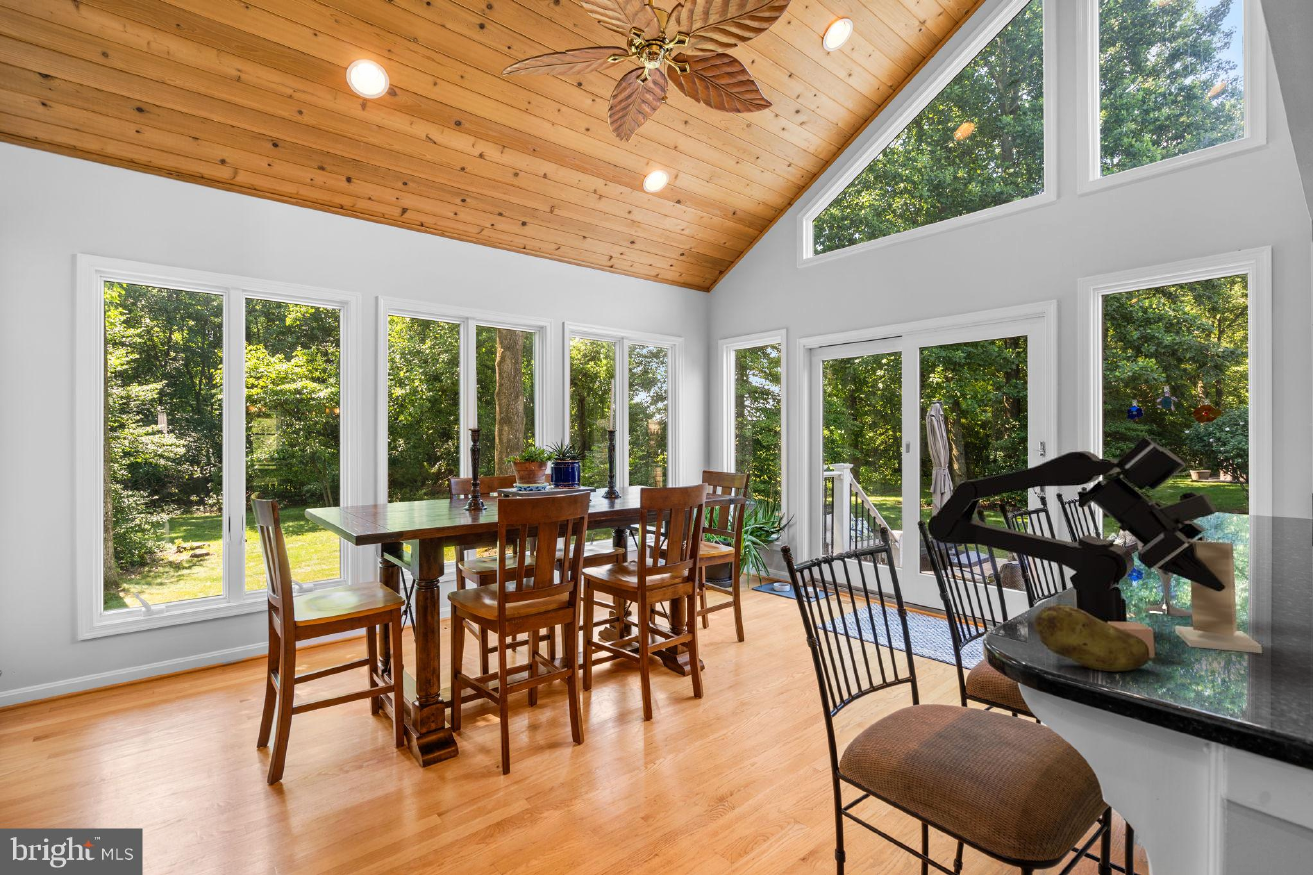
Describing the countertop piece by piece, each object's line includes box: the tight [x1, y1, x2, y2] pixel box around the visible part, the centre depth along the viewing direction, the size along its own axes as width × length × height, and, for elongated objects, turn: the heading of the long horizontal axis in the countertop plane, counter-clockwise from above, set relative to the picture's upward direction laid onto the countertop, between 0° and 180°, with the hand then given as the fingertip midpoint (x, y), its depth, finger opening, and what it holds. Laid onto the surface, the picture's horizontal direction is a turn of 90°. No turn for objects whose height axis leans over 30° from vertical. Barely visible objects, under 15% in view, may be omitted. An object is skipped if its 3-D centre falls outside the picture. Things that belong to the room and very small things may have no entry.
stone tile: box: [1175, 625, 1263, 654], centre depth 94 cm, size 8×8×1 cm
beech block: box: [1189, 540, 1238, 636], centre depth 94 cm, size 4×4×13 cm
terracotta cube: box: [1108, 621, 1155, 658], centre depth 91 cm, size 4×4×4 cm
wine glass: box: [1136, 539, 1192, 617], centre depth 112 cm, size 8×8×15 cm
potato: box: [1033, 604, 1150, 672], centre depth 86 cm, size 8×13×8 cm, turn 50°
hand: (1224, 587), depth 93 cm, fingers closed on beech block, 4 cm apart
